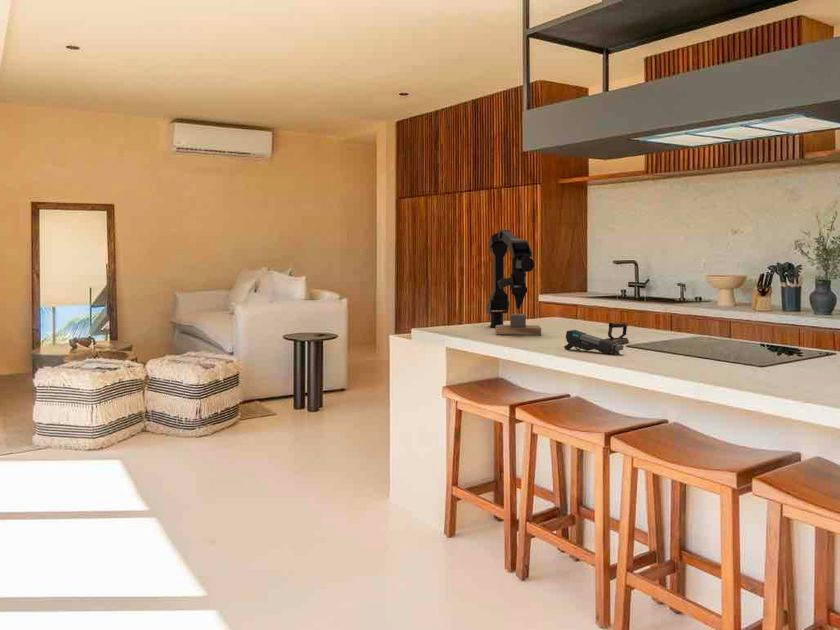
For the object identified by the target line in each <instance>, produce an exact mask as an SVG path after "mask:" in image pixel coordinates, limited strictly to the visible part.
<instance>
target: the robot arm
mask: <svg viewBox="0 0 840 630" xmlns="http://www.w3.org/2000/svg"><path fill="white" fill-rule="evenodd" d="M487 243H488V244H487V245H488V248H489V253H490V255H491V257H492V281H493V282H492V284H493V285H492V289H493V290H492V291H491V293H490V295H489V300H488V302H487V306H486V307H485V311H486V314H490V324H489V328H496V325H504V314H508V312H509V305H510V301H509V295H508V293H507V292H506V291H505V288H507V287H508V286H509V291H510V293H511V294H512V295H513V296H514V301H515V306H516V309H517V310H520V308H521V306H522V304H523V302H524V299H525V297H526V294H527V293H528V286H526V285H527V284H526V280H527V279H526V277H527V273H528V272H529V273H530V272H532V271H533V270H534V268H535V261H534V259H533V258H531V257H532V256H533V255H532V254H533V252H532V250H531V247H530V244H529V242H528V241H527V240H526V239H523V238H518V237H517V236H515V234H513V233H512V232H511V230H509V229H499V230H497V232H496V233H494V234H493V235H491V236H490V237H489V239H488V241H487ZM508 251H509V254H510V255H511V257H510V259H511V273H510V276H509V277H505V269H504V268H505V266H504V265H505V263H504V262H505V259H504V258H505V256H506V255H507V253H508ZM526 272H527V273H526Z"/></svg>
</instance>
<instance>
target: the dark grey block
mask: <svg viewBox="0 0 840 630" xmlns="http://www.w3.org/2000/svg"><path fill="white" fill-rule="evenodd" d="M509 316H510V317H509V318H510V319H509V325H510V327H514V328H526V325H527V324H526V323H527V322H526V321H527V318H526V317H527V316H526V314H525V313H510V315H509Z"/></svg>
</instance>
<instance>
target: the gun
mask: <svg viewBox="0 0 840 630" xmlns="http://www.w3.org/2000/svg"><path fill="white" fill-rule="evenodd" d="M565 340H566V342H567V344H566V345H564V346H563V348H564V350H565V351H569V350H570V349H572V348H575V350H577V351H580V350H583V351H587V352H589V351H592V350H593V351H594V350H595V351H598V352H600V353H603V354H605V355H606V354H612V355H614V356H617V355H620V351H623V350H624V346H625V344H624V345H621V344H618V343H617V342H613V341H610V340H607V338H601V337H598V336H595V335H592V334H588V333H587V332H583V331H580V330H577V329H571V330H566V334H565Z"/></svg>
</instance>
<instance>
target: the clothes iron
mask: <svg viewBox="0 0 840 630" xmlns="http://www.w3.org/2000/svg"><path fill="white" fill-rule="evenodd" d="M616 328H617V329H618V328H619V329H620V328H622V334H621V335H619V336H618V337H613V335H612V333H613V329H616ZM627 329H628V324H627V322H609V323H608V330H607V331H608V332H607V336H608V337H607V338H606V339H607V340H610V341H613V342H617V343H618V344H621V345H624V346H625V345H628V344H630V341H629V338H628V337H625V336H626V335H627V331H628V330H627Z"/></svg>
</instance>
